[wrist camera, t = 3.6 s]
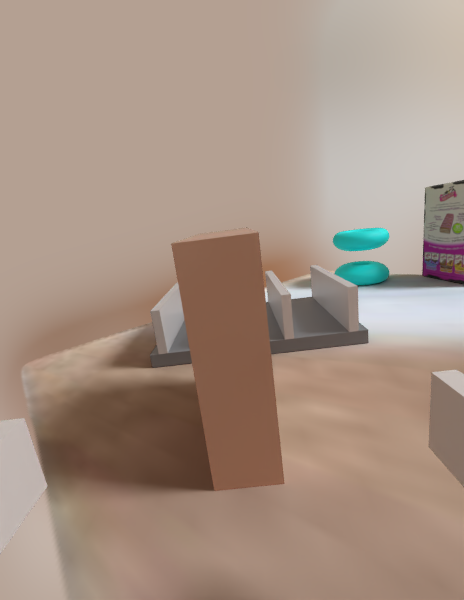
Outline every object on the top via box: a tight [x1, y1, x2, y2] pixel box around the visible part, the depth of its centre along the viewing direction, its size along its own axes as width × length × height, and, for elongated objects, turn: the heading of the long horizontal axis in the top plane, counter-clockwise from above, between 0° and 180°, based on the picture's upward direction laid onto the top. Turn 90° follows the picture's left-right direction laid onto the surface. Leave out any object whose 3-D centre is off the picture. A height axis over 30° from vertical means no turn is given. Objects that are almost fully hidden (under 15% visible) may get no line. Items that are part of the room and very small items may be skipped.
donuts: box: [333, 228, 389, 285], centre depth 60 cm, size 10×10×10 cm
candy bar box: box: [422, 180, 464, 284], centre depth 52 cm, size 11×5×16 cm, turn 8°
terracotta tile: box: [171, 228, 284, 491], centre depth 21 cm, size 4×12×14 cm, turn 0°
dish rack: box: [150, 265, 368, 368], centre depth 41 cm, size 24×16×6 cm, turn 90°
